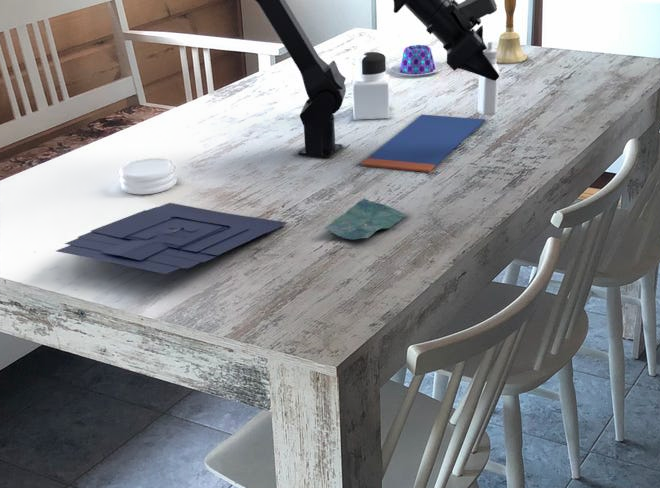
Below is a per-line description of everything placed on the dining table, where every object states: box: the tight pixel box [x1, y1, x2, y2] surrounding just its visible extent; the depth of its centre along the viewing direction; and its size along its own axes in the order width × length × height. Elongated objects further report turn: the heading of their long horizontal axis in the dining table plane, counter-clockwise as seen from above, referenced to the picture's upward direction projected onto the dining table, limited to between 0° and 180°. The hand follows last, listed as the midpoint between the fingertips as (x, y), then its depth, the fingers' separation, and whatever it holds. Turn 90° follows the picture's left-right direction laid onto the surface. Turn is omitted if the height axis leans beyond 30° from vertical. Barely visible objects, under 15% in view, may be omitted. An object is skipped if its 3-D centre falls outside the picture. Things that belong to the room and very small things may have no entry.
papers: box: [55, 202, 289, 275], centre depth 160 cm, size 24×30×4 cm
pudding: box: [390, 44, 445, 77], centre depth 236 cm, size 12×12×5 cm
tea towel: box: [360, 114, 485, 173], centre depth 195 cm, size 30×13×1 cm, turn 152°
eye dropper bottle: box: [477, 41, 500, 116], centre depth 183 cm, size 4×6×12 cm
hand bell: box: [496, 0, 528, 65], centre depth 236 cm, size 8×8×16 cm
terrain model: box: [324, 198, 407, 240], centre depth 162 cm, size 13×8×2 cm, turn 146°
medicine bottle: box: [352, 51, 390, 121], centre depth 209 cm, size 7×7×12 cm
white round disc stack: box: [118, 157, 178, 195], centre depth 186 cm, size 10×10×4 cm
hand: (497, 74), depth 183 cm, fingers closed on eye dropper bottle, 5 cm apart
